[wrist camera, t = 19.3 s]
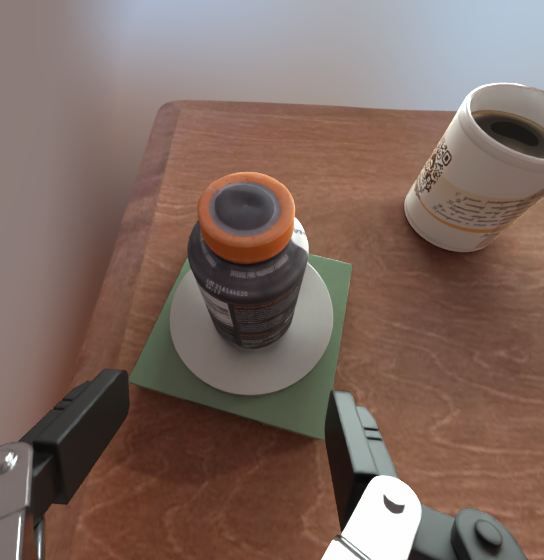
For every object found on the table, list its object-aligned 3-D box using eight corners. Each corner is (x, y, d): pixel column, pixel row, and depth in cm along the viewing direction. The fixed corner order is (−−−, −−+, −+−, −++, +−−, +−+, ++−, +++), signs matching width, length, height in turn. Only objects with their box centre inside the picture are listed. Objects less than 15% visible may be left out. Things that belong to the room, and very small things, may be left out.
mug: (380, 210, 32) (433, 111, 22) (435, 158, 37) (500, 56, 27) (469, 270, 29) (575, 185, 19) (518, 206, 33) (625, 109, 24)
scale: (138, 388, 23) (117, 379, 19) (205, 243, 29) (198, 216, 26) (317, 442, 22) (329, 442, 18) (345, 277, 28) (358, 254, 25)
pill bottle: (295, 280, 23) (323, 160, 13) (289, 355, 20) (319, 276, 10) (219, 271, 23) (190, 146, 13) (203, 345, 20) (151, 257, 11)
